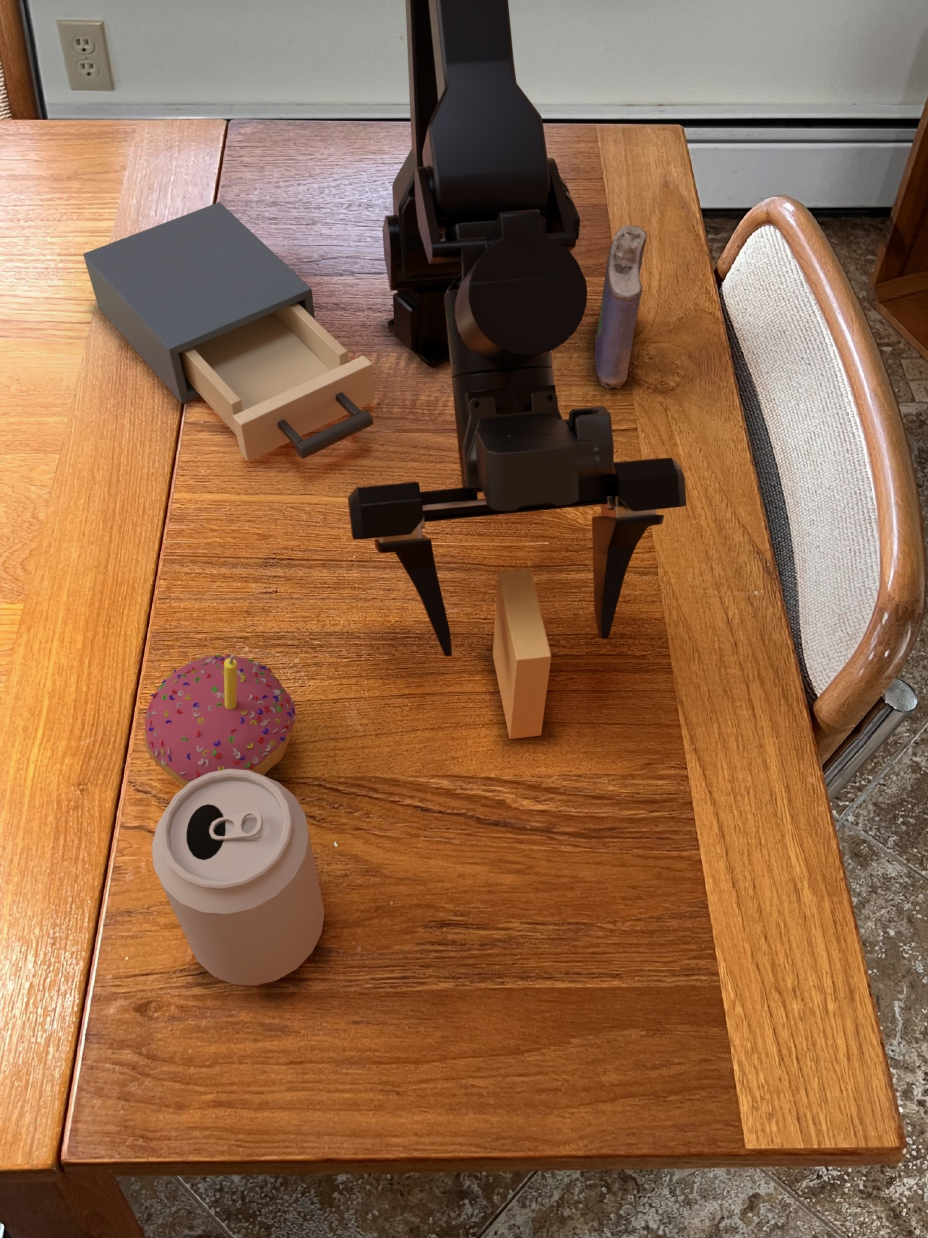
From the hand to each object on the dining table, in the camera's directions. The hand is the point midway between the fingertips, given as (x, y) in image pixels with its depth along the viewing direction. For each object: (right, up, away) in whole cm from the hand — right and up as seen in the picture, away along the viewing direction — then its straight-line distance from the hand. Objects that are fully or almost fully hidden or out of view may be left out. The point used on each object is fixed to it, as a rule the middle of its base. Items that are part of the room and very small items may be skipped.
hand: (526, 646), depth 67 cm
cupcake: (-18, -7, +3) cm, 19 cm away
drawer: (-18, +19, +22) cm, 34 cm away
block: (0, -3, +6) cm, 7 cm away
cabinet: (-25, +26, +28) cm, 45 cm away
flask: (+8, +23, +27) cm, 36 cm away
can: (-15, -15, -3) cm, 22 cm away
